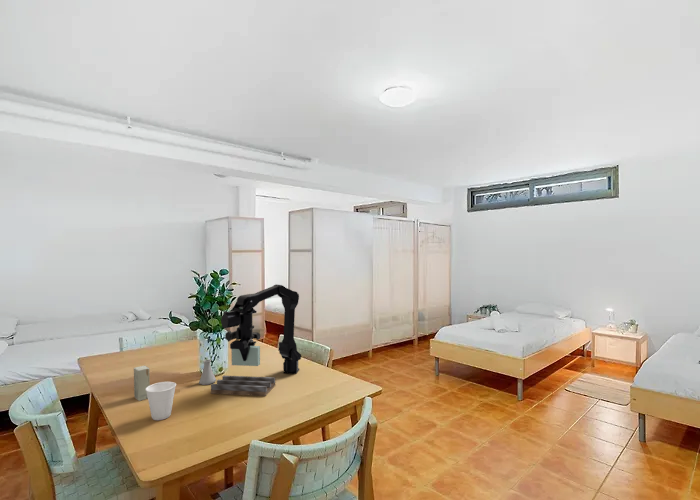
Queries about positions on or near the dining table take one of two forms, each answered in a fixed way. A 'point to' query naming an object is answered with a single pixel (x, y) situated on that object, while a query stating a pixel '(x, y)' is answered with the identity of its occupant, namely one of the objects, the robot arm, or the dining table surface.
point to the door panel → (252, 357)
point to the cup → (161, 399)
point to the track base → (243, 385)
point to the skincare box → (141, 382)
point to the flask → (207, 374)
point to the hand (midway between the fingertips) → (246, 359)
